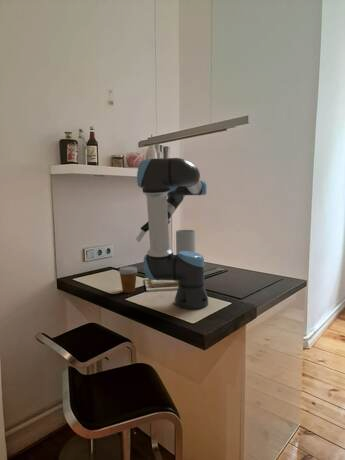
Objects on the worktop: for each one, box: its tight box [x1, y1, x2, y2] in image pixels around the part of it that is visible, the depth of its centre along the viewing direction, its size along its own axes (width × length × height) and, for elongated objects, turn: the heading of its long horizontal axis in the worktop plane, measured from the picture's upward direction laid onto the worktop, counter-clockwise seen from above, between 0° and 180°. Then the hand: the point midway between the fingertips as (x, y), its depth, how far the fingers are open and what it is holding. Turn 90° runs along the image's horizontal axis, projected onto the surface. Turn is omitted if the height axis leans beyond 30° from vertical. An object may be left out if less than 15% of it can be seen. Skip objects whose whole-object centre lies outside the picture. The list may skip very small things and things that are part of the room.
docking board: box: [143, 277, 178, 293], centre depth 170 cm, size 22×22×3 cm
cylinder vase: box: [175, 229, 196, 255], centre depth 205 cm, size 12×12×25 cm
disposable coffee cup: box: [118, 265, 138, 294], centre depth 159 cm, size 10×10×12 cm
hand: (144, 242), depth 164 cm, fingers open, 13 cm apart
